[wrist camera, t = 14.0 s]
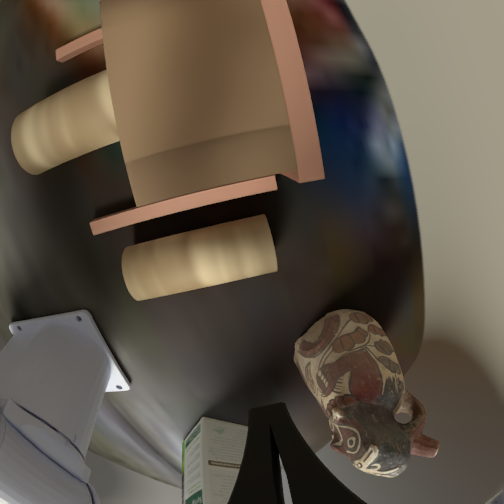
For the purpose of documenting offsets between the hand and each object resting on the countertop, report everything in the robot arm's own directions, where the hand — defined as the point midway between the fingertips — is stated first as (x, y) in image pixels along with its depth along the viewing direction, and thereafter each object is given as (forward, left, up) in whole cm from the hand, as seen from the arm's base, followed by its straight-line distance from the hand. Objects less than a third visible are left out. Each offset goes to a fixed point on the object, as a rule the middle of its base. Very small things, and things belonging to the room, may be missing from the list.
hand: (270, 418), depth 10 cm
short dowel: (-2, +4, -10) cm, 11 cm away
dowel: (-4, +13, -10) cm, 17 cm away
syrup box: (-6, -15, -10) cm, 19 cm away
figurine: (+6, -6, -10) cm, 13 cm away
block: (0, +13, -9) cm, 16 cm away
